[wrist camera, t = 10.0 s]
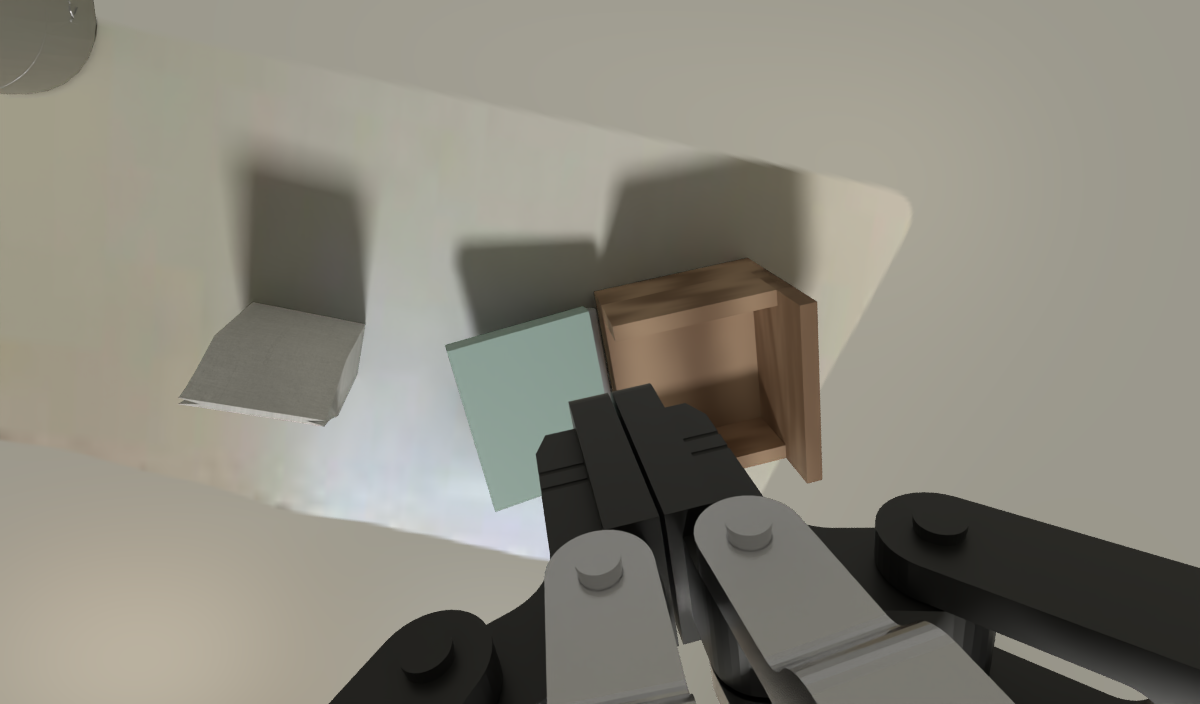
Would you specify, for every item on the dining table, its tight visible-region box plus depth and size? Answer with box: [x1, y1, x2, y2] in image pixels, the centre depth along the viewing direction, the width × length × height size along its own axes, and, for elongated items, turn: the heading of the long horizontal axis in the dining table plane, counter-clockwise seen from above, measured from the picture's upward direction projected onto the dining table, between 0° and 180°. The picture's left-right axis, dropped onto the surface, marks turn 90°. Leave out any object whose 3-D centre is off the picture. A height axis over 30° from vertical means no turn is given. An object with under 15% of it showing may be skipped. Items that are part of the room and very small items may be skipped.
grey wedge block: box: [179, 302, 365, 426], centre depth 36 cm, size 4×7×10 cm, turn 74°
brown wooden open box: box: [594, 258, 822, 483], centre depth 40 cm, size 11×12×10 cm
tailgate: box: [445, 306, 611, 512], centre depth 41 cm, size 1×12×10 cm
